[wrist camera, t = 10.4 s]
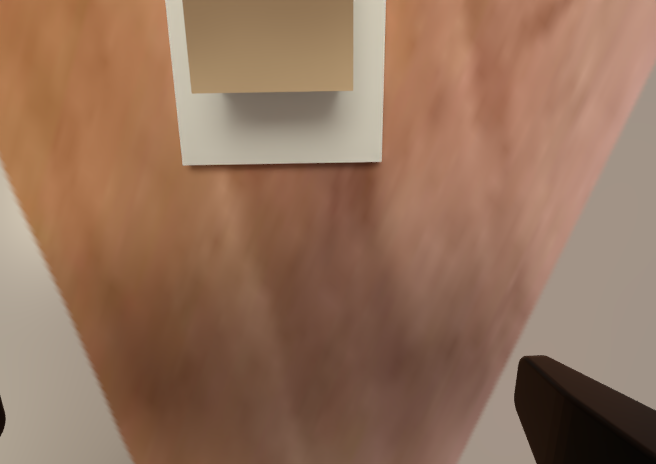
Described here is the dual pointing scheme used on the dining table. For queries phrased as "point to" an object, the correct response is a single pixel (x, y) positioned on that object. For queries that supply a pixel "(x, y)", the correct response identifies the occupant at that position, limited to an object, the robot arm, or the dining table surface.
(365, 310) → the dining table surface
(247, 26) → the block
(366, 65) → the board
